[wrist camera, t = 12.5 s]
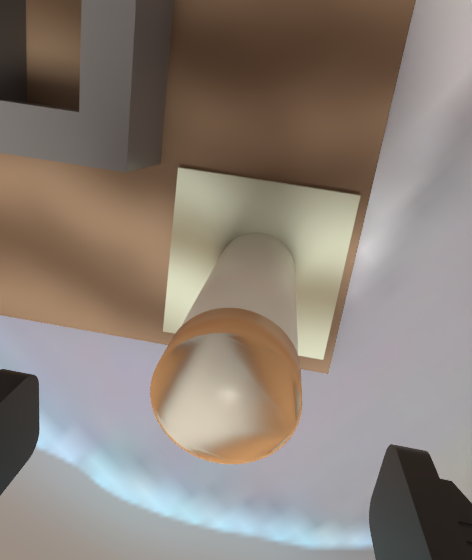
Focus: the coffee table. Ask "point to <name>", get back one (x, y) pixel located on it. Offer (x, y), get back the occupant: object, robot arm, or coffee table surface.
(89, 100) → the grey square frame
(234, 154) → the base board
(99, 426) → the coffee table surface
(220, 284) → the plug
